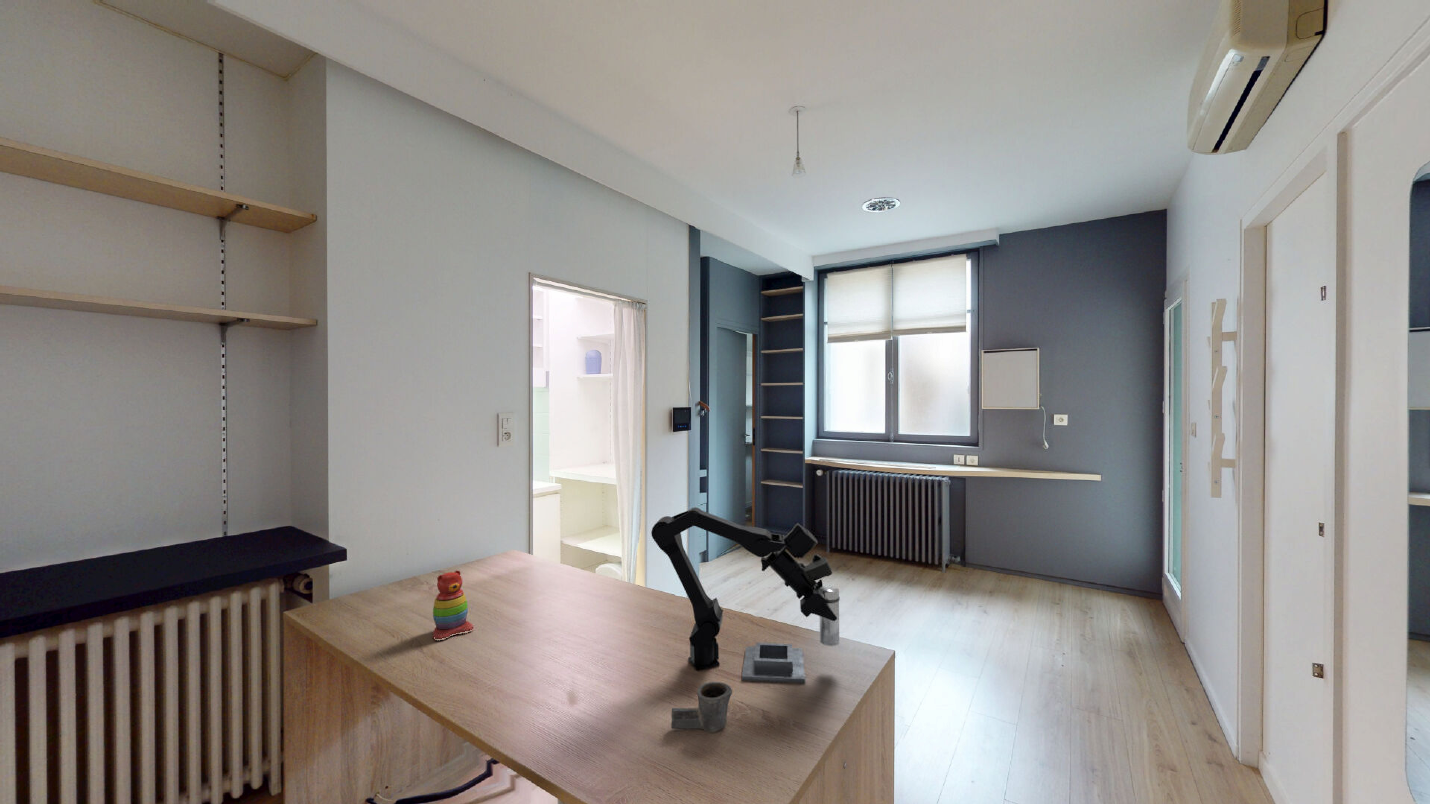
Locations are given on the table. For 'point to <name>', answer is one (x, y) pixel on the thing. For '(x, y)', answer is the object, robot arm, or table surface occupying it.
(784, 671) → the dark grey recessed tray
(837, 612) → the silver banded cylinder
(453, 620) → the stacking bear
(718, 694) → the pipe
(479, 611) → the table surface
